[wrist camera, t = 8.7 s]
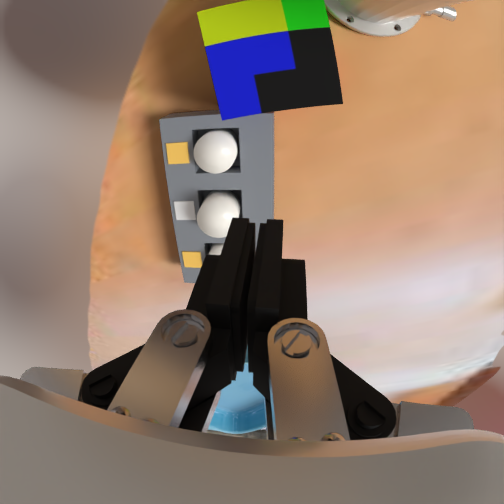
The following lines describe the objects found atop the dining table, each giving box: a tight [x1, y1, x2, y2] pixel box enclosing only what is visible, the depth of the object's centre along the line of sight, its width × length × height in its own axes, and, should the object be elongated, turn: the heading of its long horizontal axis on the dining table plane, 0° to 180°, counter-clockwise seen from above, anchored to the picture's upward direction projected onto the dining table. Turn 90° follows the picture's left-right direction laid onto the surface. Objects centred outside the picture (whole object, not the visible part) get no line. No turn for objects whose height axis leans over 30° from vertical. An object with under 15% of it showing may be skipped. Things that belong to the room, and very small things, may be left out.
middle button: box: [197, 190, 241, 238], centre depth 34 cm, size 4×4×4 cm
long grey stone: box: [207, 429, 267, 440], centre depth 78 cm, size 35×5×10 cm
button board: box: [159, 110, 274, 283], centre depth 36 cm, size 12×22×4 cm, turn 1°
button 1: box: [194, 128, 240, 174], centre depth 31 cm, size 4×4×4 cm
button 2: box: [209, 243, 224, 255], centre depth 39 cm, size 4×4×4 cm
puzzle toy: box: [197, 0, 343, 121], centre depth 24 cm, size 10×10×10 cm
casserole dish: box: [208, 345, 266, 434], centre depth 59 cm, size 37×22×7 cm, turn 142°
